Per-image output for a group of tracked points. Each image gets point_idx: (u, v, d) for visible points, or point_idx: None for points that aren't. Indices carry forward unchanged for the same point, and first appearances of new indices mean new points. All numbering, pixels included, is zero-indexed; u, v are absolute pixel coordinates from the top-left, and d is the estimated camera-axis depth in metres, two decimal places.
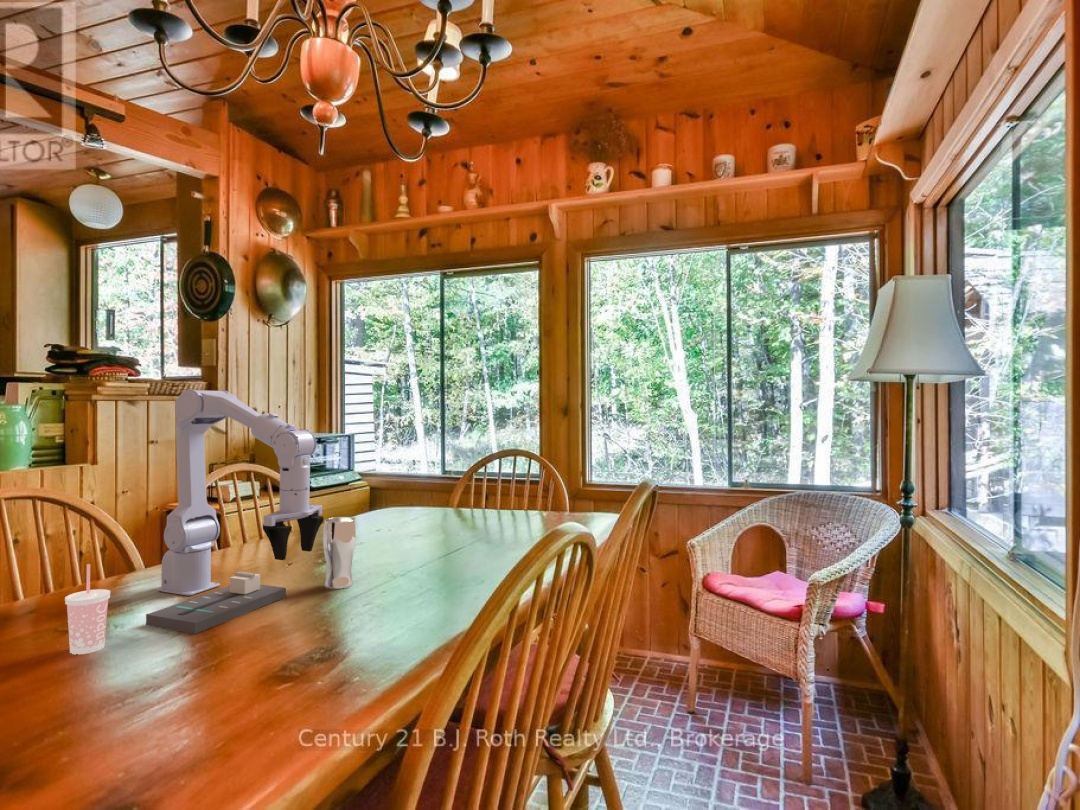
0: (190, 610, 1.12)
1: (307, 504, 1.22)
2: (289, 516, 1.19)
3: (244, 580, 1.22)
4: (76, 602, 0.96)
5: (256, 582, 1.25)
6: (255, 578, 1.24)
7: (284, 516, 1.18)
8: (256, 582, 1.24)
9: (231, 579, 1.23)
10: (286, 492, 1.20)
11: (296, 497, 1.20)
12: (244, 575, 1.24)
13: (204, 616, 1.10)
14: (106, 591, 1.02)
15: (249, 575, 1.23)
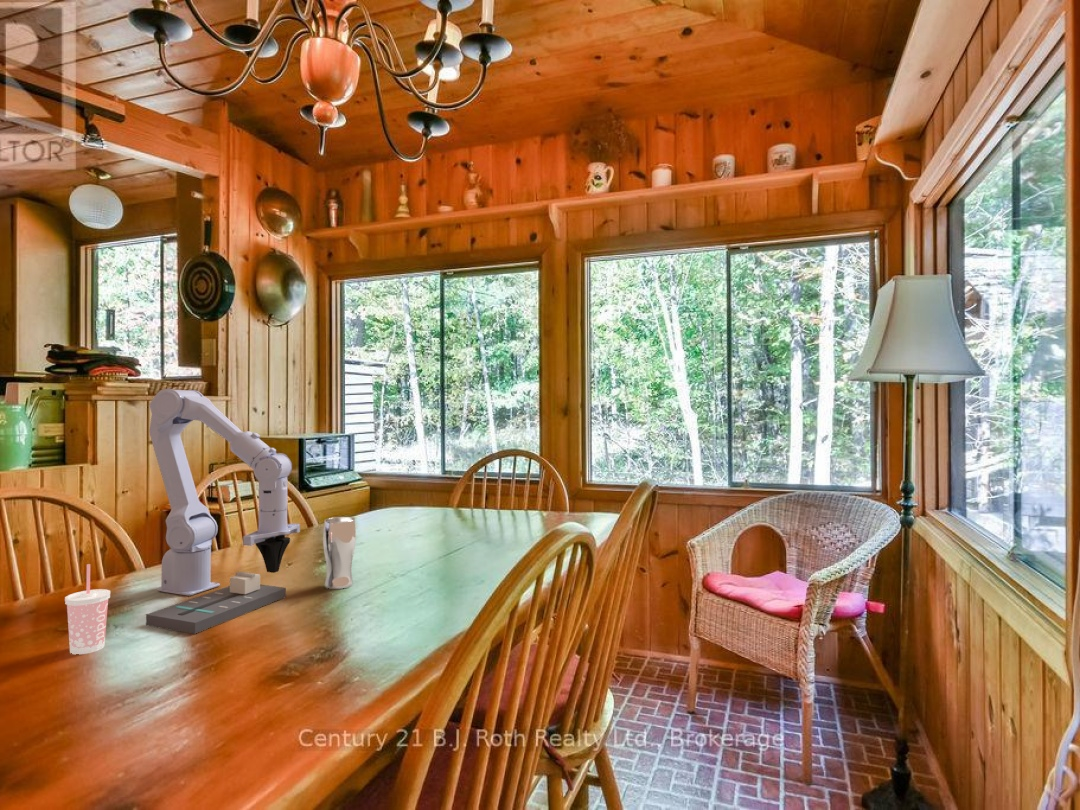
0: (190, 610, 1.12)
1: (284, 523, 1.31)
2: (267, 536, 1.27)
3: (244, 580, 1.22)
4: (76, 602, 0.96)
5: (256, 582, 1.25)
6: (255, 578, 1.24)
7: (262, 536, 1.26)
8: (256, 582, 1.24)
9: (231, 579, 1.23)
10: (265, 513, 1.28)
11: (274, 518, 1.29)
12: (244, 575, 1.24)
13: (204, 616, 1.10)
14: (106, 591, 1.02)
15: (249, 575, 1.23)
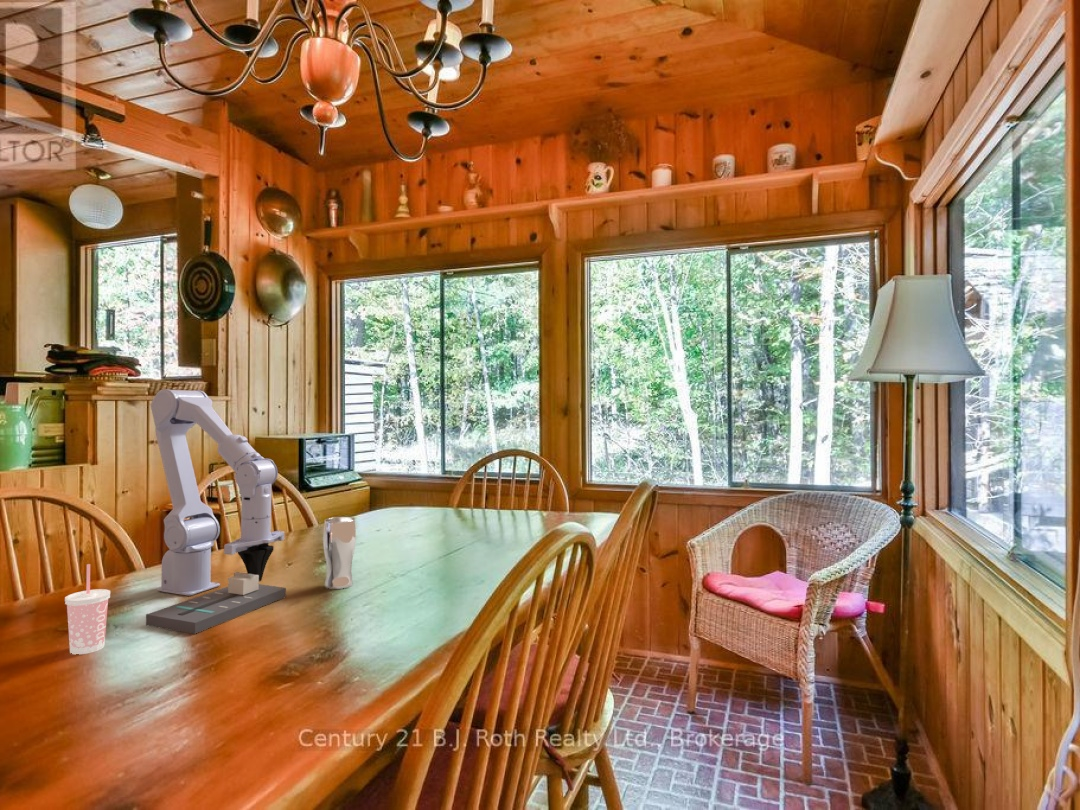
0: (190, 610, 1.12)
1: (268, 531, 1.26)
2: (250, 544, 1.23)
3: (243, 581, 1.21)
4: (76, 602, 0.96)
5: (255, 582, 1.24)
6: (253, 578, 1.24)
7: (244, 544, 1.22)
8: (254, 583, 1.24)
9: (229, 580, 1.22)
10: (247, 521, 1.24)
11: (257, 525, 1.24)
12: (242, 576, 1.23)
13: (204, 616, 1.10)
14: (106, 591, 1.02)
15: (247, 576, 1.23)
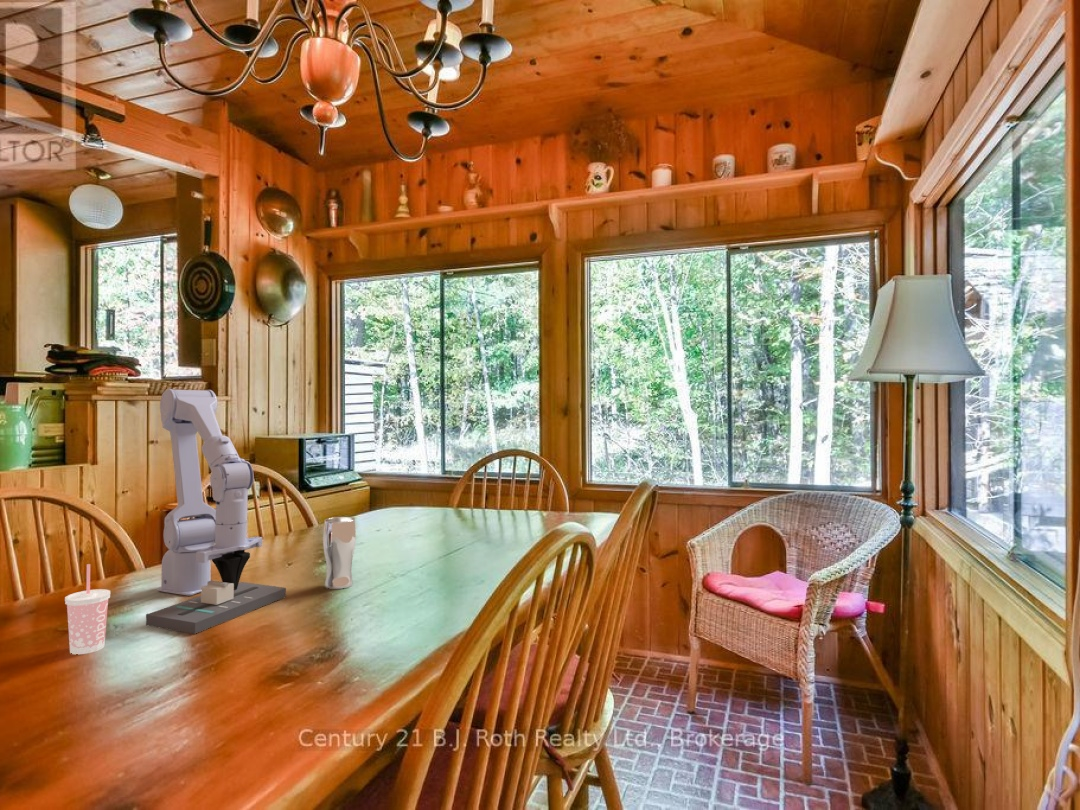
0: (190, 610, 1.12)
1: (243, 537, 1.20)
2: (224, 551, 1.17)
3: (216, 590, 1.15)
4: (76, 602, 0.96)
5: (229, 591, 1.18)
6: (227, 587, 1.18)
7: (218, 551, 1.16)
8: (229, 592, 1.18)
9: (202, 588, 1.16)
10: (221, 526, 1.18)
11: (232, 531, 1.18)
12: (216, 584, 1.17)
13: (204, 616, 1.10)
14: (106, 591, 1.02)
15: (221, 584, 1.17)
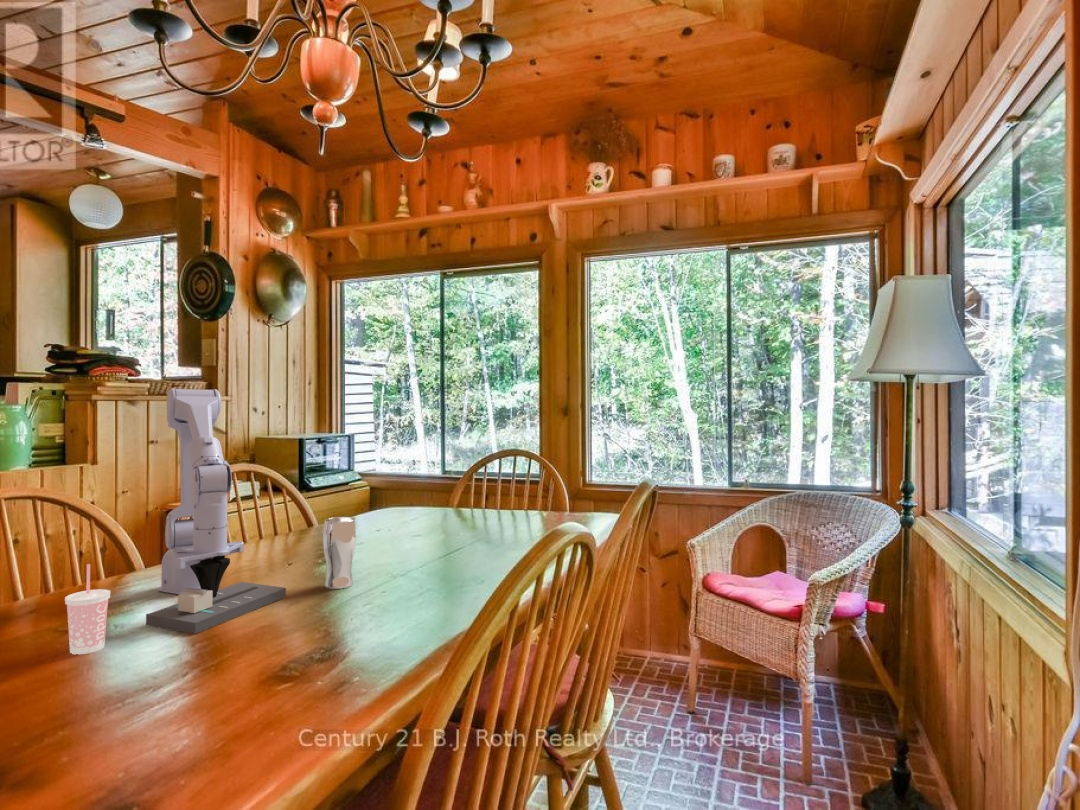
0: None
1: (223, 543, 1.15)
2: (202, 557, 1.12)
3: (194, 598, 1.10)
4: (76, 602, 0.96)
5: (208, 599, 1.13)
6: (206, 595, 1.13)
7: (196, 557, 1.11)
8: (207, 599, 1.13)
9: (179, 596, 1.12)
10: (199, 531, 1.13)
11: (211, 536, 1.14)
12: (194, 592, 1.13)
13: (204, 616, 1.10)
14: (106, 591, 1.02)
15: (199, 592, 1.12)
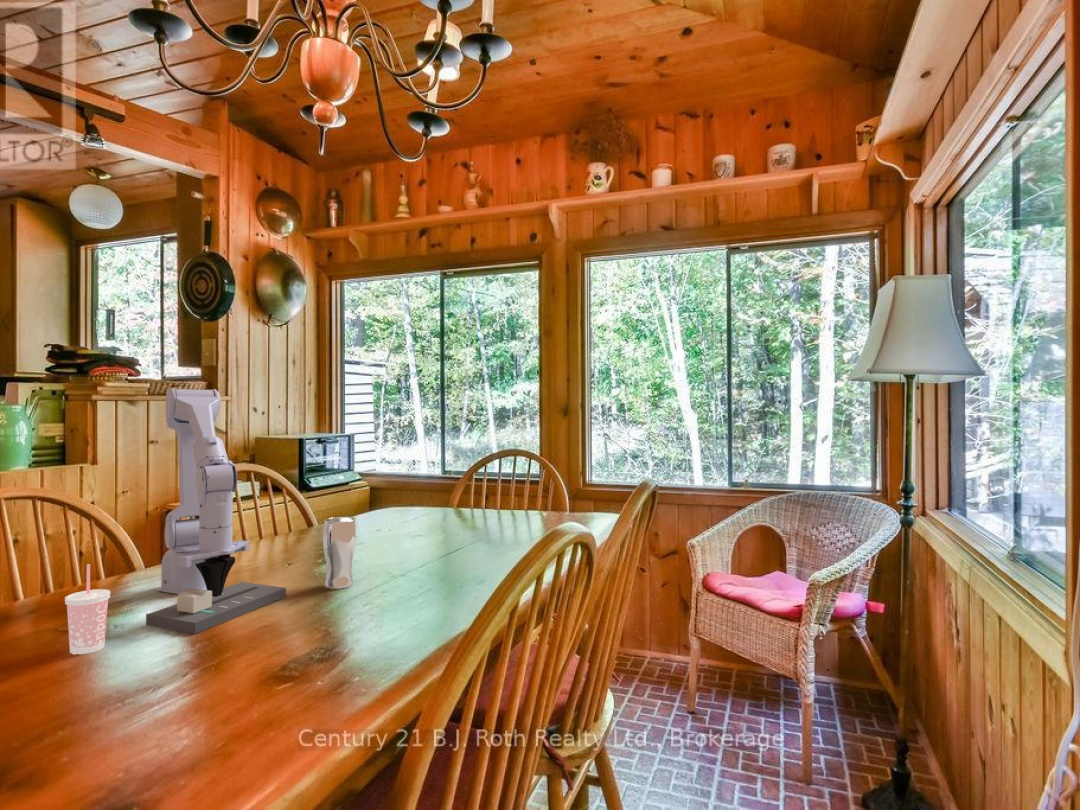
0: None
1: (228, 541, 1.17)
2: (207, 556, 1.13)
3: (193, 598, 1.10)
4: (76, 602, 0.96)
5: (207, 599, 1.13)
6: (205, 595, 1.13)
7: (201, 556, 1.12)
8: (207, 599, 1.13)
9: (179, 596, 1.12)
10: (205, 530, 1.14)
11: (216, 535, 1.15)
12: (193, 592, 1.12)
13: (204, 616, 1.10)
14: (106, 591, 1.02)
15: (199, 592, 1.12)
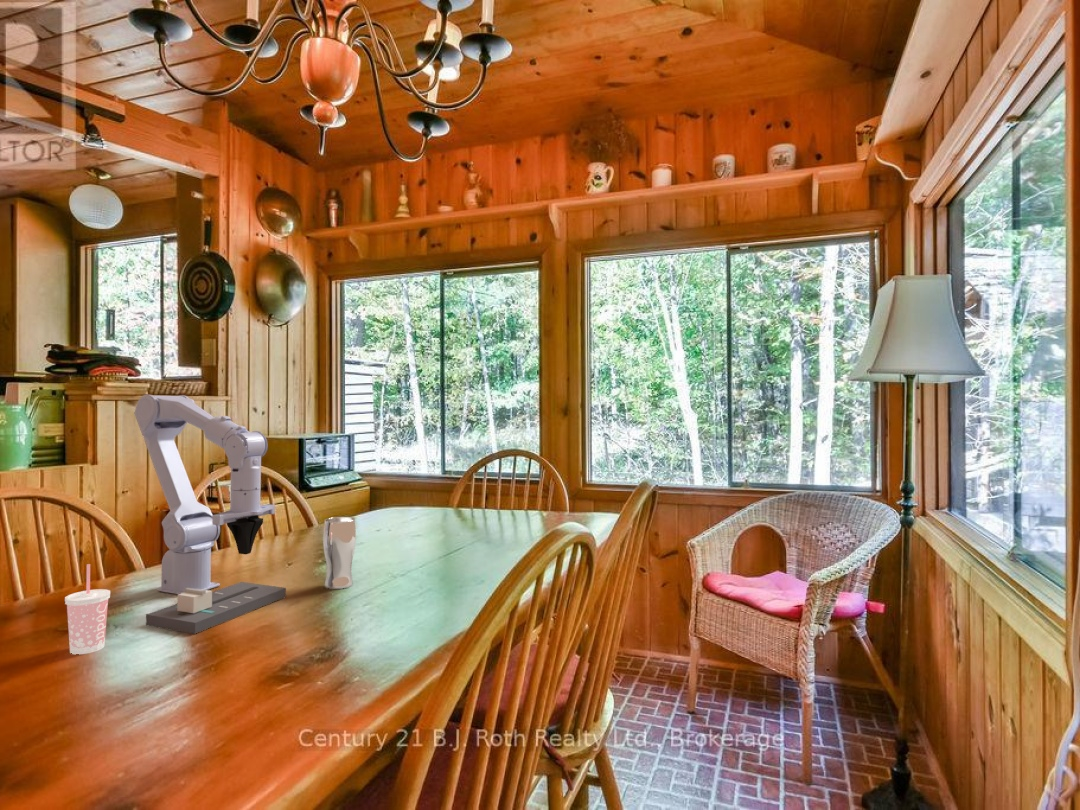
0: None
1: (257, 503, 1.26)
2: (238, 515, 1.22)
3: (193, 598, 1.10)
4: (76, 602, 0.96)
5: (207, 599, 1.13)
6: (205, 595, 1.13)
7: (233, 515, 1.22)
8: (207, 599, 1.13)
9: (179, 596, 1.12)
10: (236, 492, 1.24)
11: (246, 497, 1.24)
12: (193, 592, 1.12)
13: (204, 616, 1.10)
14: (106, 591, 1.02)
15: (199, 592, 1.12)
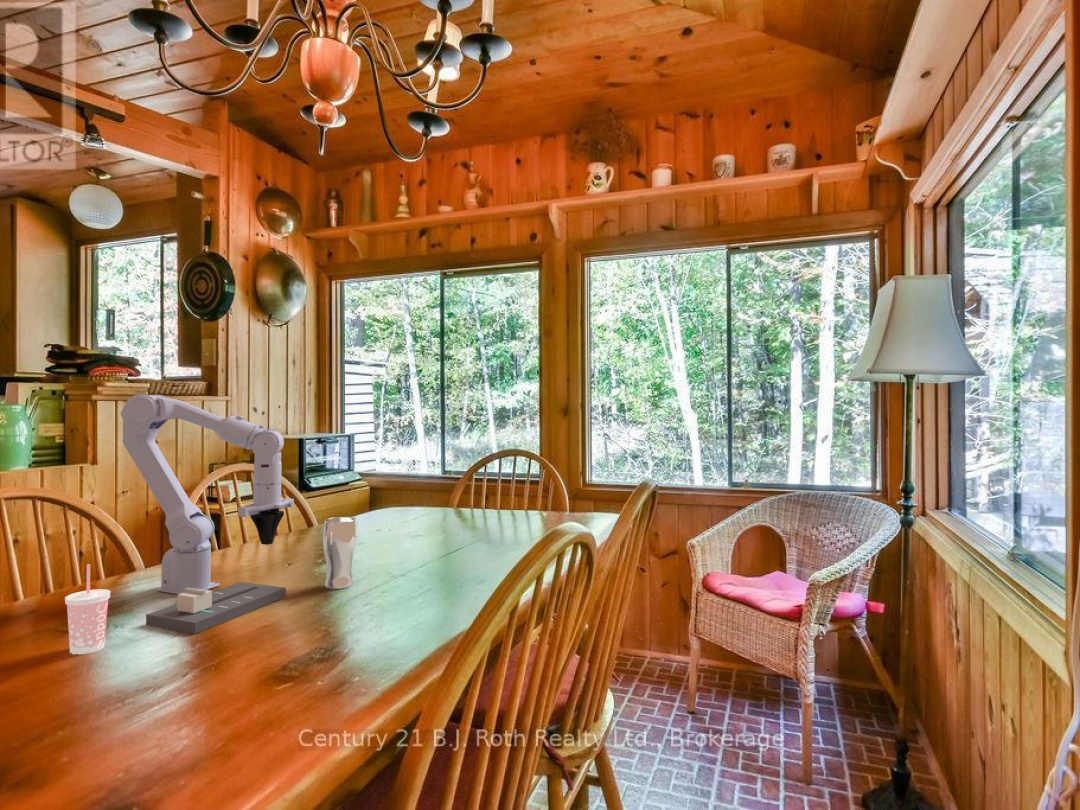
0: None
1: (278, 497, 1.34)
2: (262, 508, 1.31)
3: (193, 598, 1.10)
4: (76, 602, 0.96)
5: (207, 599, 1.13)
6: (205, 595, 1.13)
7: (257, 508, 1.30)
8: (207, 599, 1.13)
9: (179, 596, 1.12)
10: (259, 486, 1.32)
11: (269, 491, 1.33)
12: (193, 592, 1.12)
13: (204, 616, 1.10)
14: (106, 591, 1.02)
15: (199, 592, 1.12)
